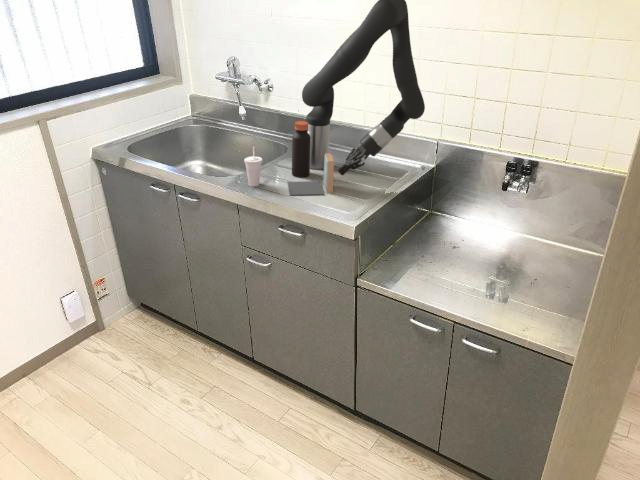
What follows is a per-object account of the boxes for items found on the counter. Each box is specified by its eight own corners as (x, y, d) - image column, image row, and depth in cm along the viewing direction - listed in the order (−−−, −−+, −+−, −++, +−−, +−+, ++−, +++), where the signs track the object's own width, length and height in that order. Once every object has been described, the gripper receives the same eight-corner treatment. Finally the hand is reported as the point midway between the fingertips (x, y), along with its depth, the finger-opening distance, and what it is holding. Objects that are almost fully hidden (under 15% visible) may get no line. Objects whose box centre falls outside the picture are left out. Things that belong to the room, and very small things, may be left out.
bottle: (302, 179, 200) (304, 126, 191) (288, 174, 203) (288, 123, 194) (312, 173, 205) (314, 122, 196) (298, 169, 208) (299, 119, 199)
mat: (319, 182, 198) (319, 181, 198) (324, 195, 187) (324, 194, 187) (287, 182, 196) (287, 181, 196) (290, 195, 186) (290, 194, 186)
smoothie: (265, 182, 195) (265, 145, 189) (258, 189, 190) (257, 151, 183) (249, 180, 197) (248, 143, 191) (242, 186, 192) (240, 148, 185)
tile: (329, 184, 196) (330, 153, 191) (332, 193, 189) (333, 160, 184) (323, 184, 196) (324, 153, 190) (326, 193, 189) (327, 161, 183)
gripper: (365, 127, 190) (330, 159, 195) (373, 138, 179) (335, 173, 183) (378, 141, 194) (343, 173, 198) (387, 153, 182) (350, 187, 186)
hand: (339, 173), depth 190 cm, fingers closed
